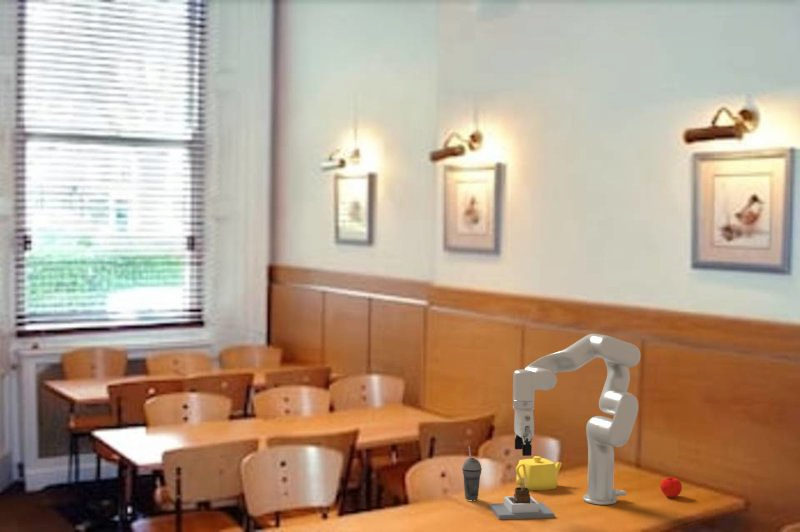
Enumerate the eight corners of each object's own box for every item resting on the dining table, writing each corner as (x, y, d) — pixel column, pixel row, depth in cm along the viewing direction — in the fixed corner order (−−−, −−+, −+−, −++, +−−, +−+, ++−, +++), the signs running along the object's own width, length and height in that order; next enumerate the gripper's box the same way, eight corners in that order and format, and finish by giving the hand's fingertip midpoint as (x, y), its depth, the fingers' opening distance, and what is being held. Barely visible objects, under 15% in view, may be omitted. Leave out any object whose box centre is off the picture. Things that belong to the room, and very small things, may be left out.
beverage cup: (479, 503, 357) (481, 449, 357) (460, 501, 359) (461, 448, 358) (482, 497, 364) (483, 444, 364) (463, 496, 366) (464, 443, 365)
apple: (659, 498, 367) (660, 479, 367) (660, 493, 375) (660, 474, 374) (681, 500, 365) (682, 481, 365) (681, 495, 372) (682, 476, 372)
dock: (542, 506, 355) (542, 494, 354) (554, 517, 341) (554, 504, 341) (489, 507, 351) (489, 495, 351) (498, 519, 338) (499, 506, 337)
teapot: (553, 480, 391) (554, 451, 391) (568, 488, 380) (569, 458, 379) (508, 484, 385) (509, 454, 384) (522, 492, 373) (523, 461, 373)
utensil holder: (530, 506, 348) (531, 473, 348) (529, 511, 342) (530, 478, 342) (514, 505, 350) (515, 472, 349) (512, 510, 343) (513, 476, 343)
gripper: (541, 409, 337) (540, 457, 337) (526, 400, 354) (526, 446, 354) (520, 409, 335) (519, 458, 336) (506, 400, 352) (506, 447, 353)
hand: (522, 452), depth 345 cm, fingers open, 9 cm apart
